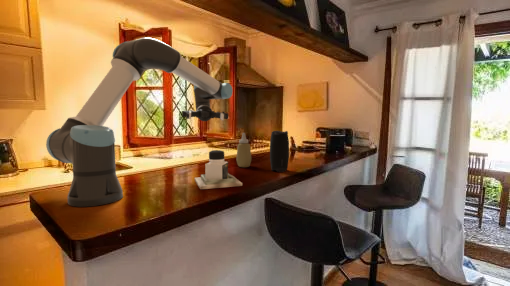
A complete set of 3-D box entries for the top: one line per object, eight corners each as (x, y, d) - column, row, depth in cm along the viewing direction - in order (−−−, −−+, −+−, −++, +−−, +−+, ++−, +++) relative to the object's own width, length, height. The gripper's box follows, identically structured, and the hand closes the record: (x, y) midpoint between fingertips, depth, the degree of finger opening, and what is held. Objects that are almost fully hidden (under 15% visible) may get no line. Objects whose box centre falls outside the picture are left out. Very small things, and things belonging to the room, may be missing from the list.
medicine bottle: (222, 182, 106) (222, 151, 105) (205, 181, 108) (204, 151, 107) (228, 178, 113) (227, 149, 112) (211, 178, 115) (211, 149, 114)
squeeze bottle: (248, 168, 143) (248, 133, 141) (234, 167, 145) (233, 133, 144) (253, 165, 150) (253, 132, 149) (239, 164, 153) (239, 132, 151)
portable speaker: (270, 168, 141) (271, 130, 139) (289, 169, 139) (289, 130, 138) (268, 172, 133) (269, 131, 131) (288, 172, 131) (288, 131, 129)
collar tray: (200, 189, 101) (200, 182, 100) (194, 180, 116) (194, 174, 115) (242, 185, 106) (242, 179, 106) (231, 177, 121) (231, 171, 121)
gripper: (229, 121, 140) (235, 126, 119) (177, 119, 134) (175, 124, 114) (229, 106, 139) (236, 109, 118) (178, 103, 133) (176, 105, 113)
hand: (206, 116), depth 116 cm, fingers open, 13 cm apart
